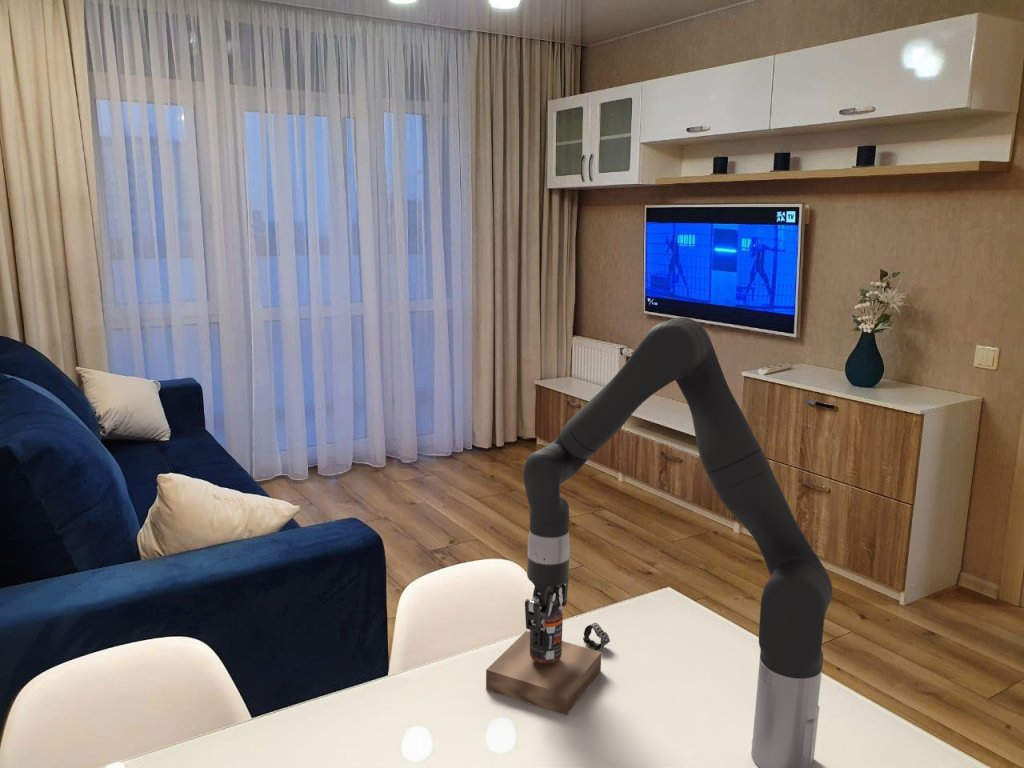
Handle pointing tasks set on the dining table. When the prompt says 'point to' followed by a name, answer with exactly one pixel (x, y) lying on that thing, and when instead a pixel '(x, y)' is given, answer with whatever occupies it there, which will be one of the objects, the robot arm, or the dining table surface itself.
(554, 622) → the supplement bottle
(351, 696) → the dining table surface
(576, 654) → the walnut block
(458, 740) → the dining table surface
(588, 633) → the wristwatch
